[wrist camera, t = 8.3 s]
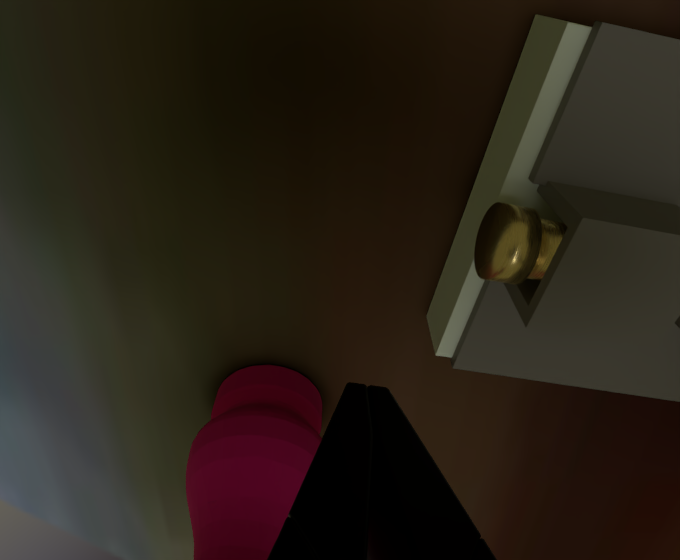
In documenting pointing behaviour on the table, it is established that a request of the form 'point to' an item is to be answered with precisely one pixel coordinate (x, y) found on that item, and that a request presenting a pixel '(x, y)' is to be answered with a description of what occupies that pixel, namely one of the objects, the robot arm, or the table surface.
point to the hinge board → (579, 218)
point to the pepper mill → (251, 461)
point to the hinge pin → (515, 244)
